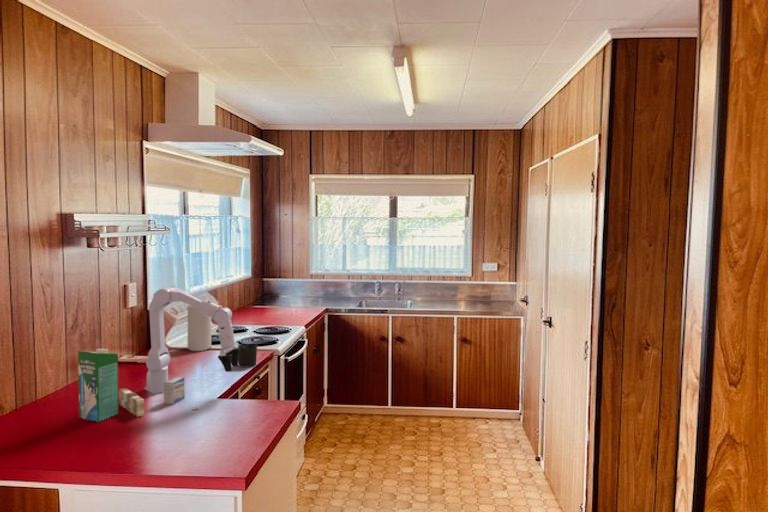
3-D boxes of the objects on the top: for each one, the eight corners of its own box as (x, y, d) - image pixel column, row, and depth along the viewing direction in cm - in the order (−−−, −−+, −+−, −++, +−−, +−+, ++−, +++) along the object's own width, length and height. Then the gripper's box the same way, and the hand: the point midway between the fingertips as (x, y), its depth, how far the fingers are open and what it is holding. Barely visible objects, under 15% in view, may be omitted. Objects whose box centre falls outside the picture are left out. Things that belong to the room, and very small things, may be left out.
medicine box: (173, 404, 204) (173, 383, 203) (163, 403, 205) (163, 382, 204) (184, 398, 212) (184, 377, 211) (175, 397, 213) (174, 376, 212)
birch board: (119, 404, 203) (119, 388, 202) (126, 403, 205) (125, 387, 204) (137, 417, 190) (137, 400, 190) (144, 415, 192) (144, 398, 192)
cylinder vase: (194, 345, 300) (194, 302, 298) (215, 347, 298) (215, 303, 296) (183, 351, 287) (183, 306, 286) (204, 352, 286) (204, 307, 284)
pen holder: (250, 368, 256) (250, 348, 256) (233, 366, 259) (233, 346, 259) (260, 363, 265) (260, 344, 265) (244, 361, 268) (244, 342, 268)
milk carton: (118, 414, 193) (118, 347, 192) (98, 422, 185) (97, 353, 183) (100, 410, 196) (99, 345, 194) (78, 419, 187) (77, 350, 186)
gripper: (229, 339, 210) (235, 372, 210) (242, 332, 224) (247, 362, 225) (212, 341, 210) (218, 374, 211) (226, 334, 225) (231, 364, 225)
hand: (232, 368), depth 218 cm, fingers open, 7 cm apart
